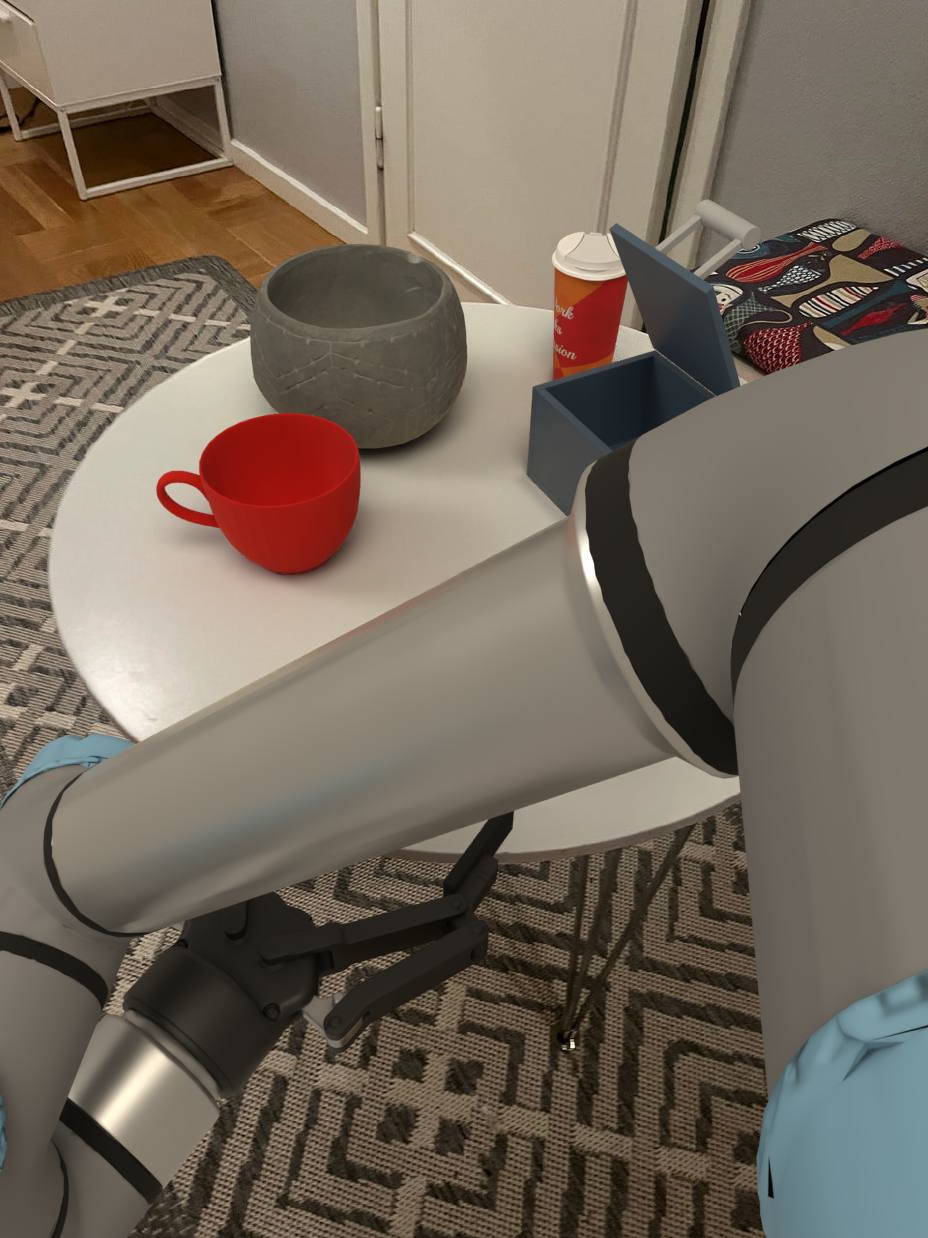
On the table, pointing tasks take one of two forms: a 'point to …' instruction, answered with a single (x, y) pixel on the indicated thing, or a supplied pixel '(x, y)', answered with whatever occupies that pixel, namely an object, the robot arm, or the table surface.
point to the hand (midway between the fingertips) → (416, 762)
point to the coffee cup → (586, 302)
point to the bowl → (360, 341)
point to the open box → (601, 417)
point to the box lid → (686, 296)
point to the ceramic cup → (277, 489)
